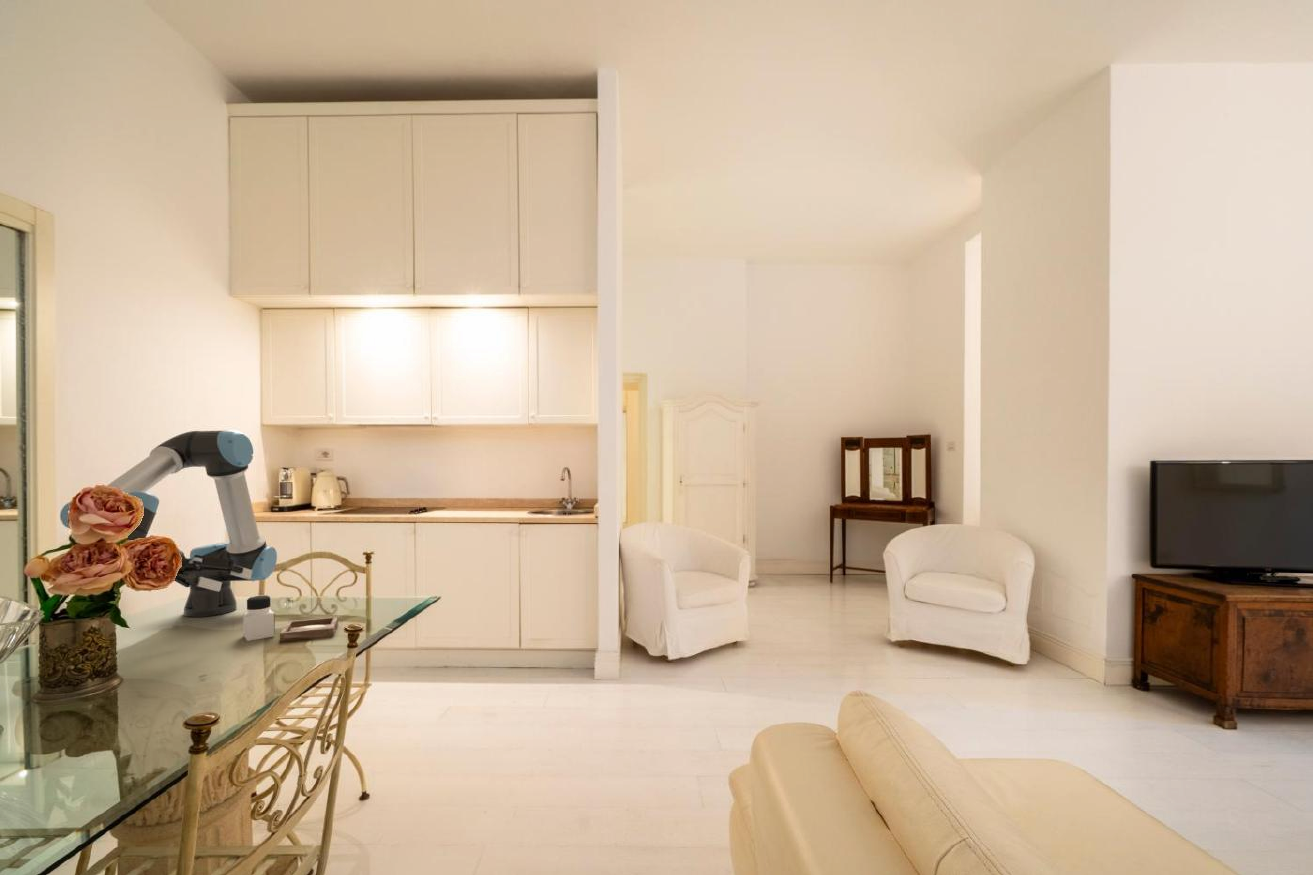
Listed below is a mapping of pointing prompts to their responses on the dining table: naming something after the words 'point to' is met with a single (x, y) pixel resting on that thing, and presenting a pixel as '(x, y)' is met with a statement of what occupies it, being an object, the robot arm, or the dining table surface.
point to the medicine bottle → (258, 619)
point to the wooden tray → (309, 629)
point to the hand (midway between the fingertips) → (235, 581)
